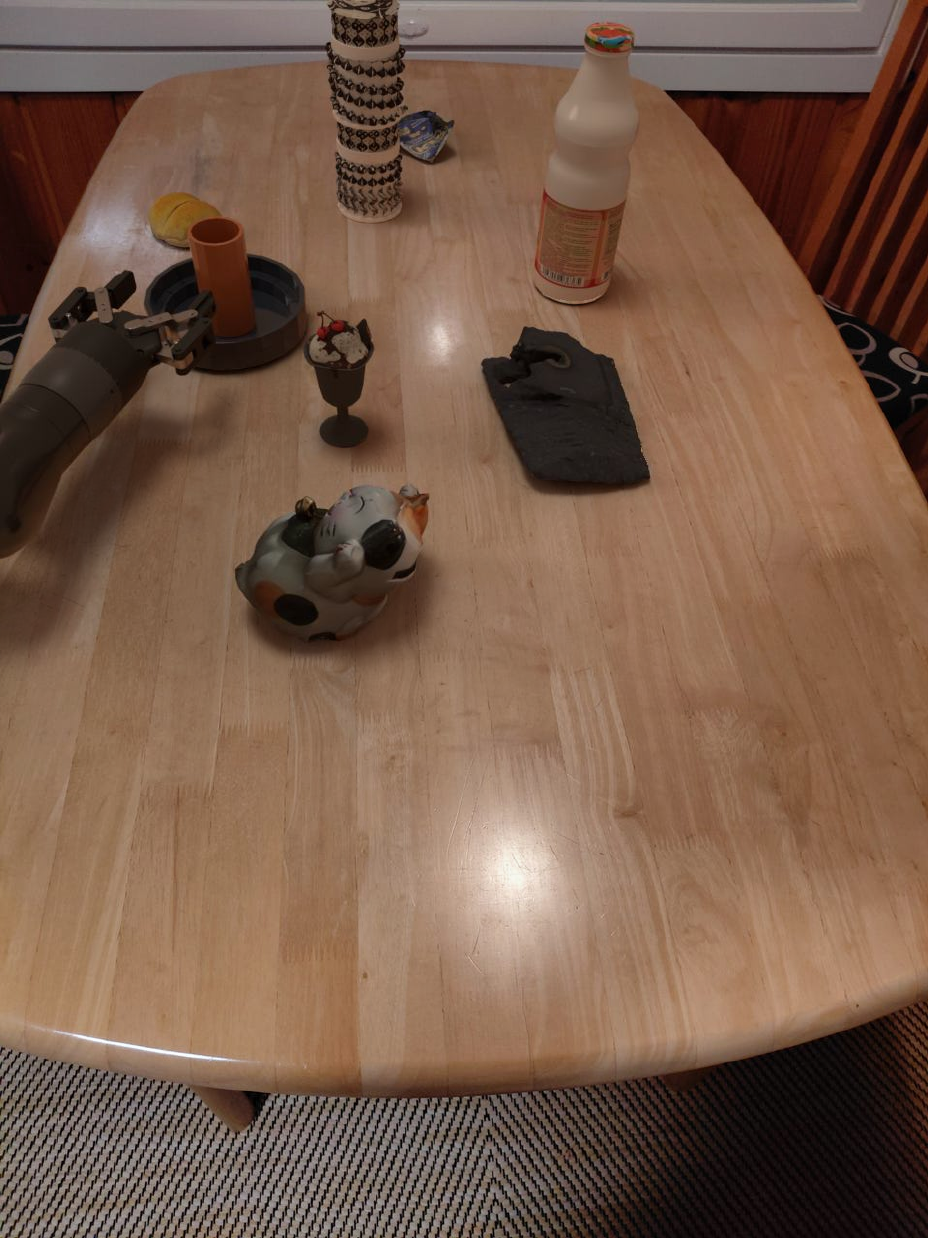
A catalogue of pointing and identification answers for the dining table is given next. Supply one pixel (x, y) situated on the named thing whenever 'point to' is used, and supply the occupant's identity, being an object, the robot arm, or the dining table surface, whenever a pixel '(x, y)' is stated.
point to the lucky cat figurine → (335, 561)
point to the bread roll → (177, 216)
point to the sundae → (340, 375)
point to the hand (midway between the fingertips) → (170, 288)
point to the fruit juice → (588, 171)
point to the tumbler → (223, 273)
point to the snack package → (423, 133)
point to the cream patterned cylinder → (366, 107)
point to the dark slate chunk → (566, 410)
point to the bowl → (273, 303)
